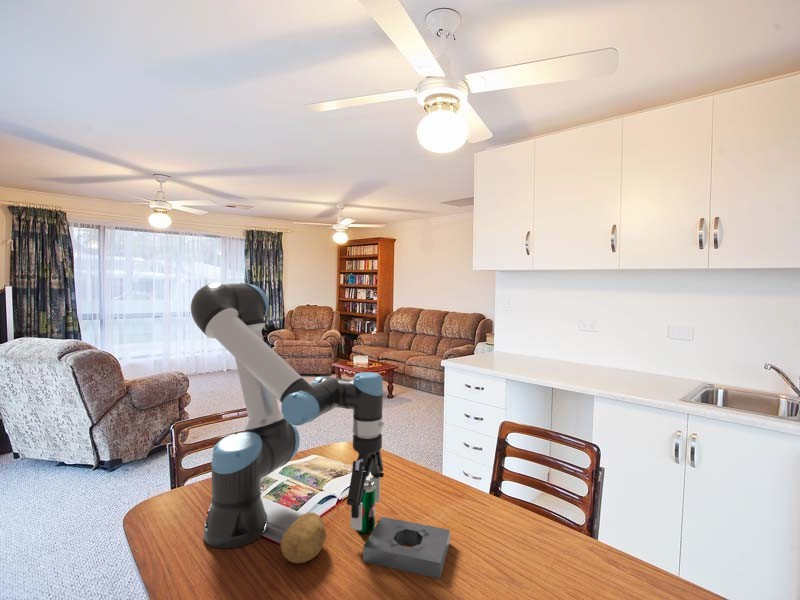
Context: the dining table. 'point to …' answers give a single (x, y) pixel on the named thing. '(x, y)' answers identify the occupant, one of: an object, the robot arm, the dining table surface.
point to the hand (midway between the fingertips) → (366, 514)
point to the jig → (416, 559)
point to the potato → (303, 538)
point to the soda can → (368, 507)
